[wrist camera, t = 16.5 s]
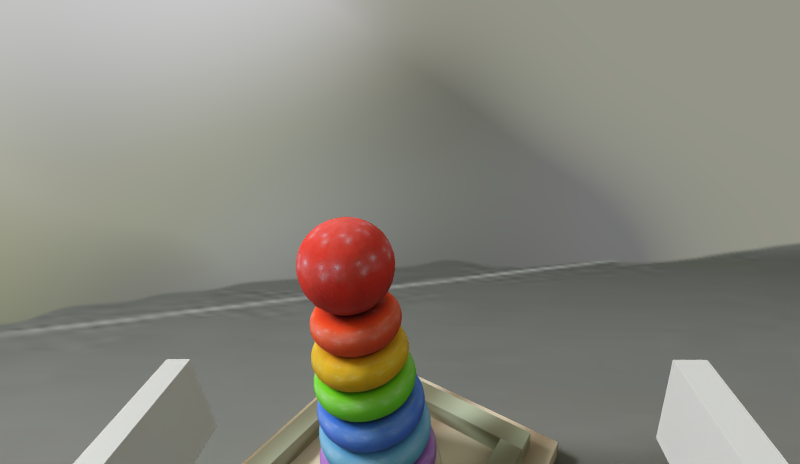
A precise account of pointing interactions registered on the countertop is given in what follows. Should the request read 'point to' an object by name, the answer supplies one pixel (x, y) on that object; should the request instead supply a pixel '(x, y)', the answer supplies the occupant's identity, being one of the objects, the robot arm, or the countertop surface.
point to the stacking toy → (361, 350)
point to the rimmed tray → (453, 427)
